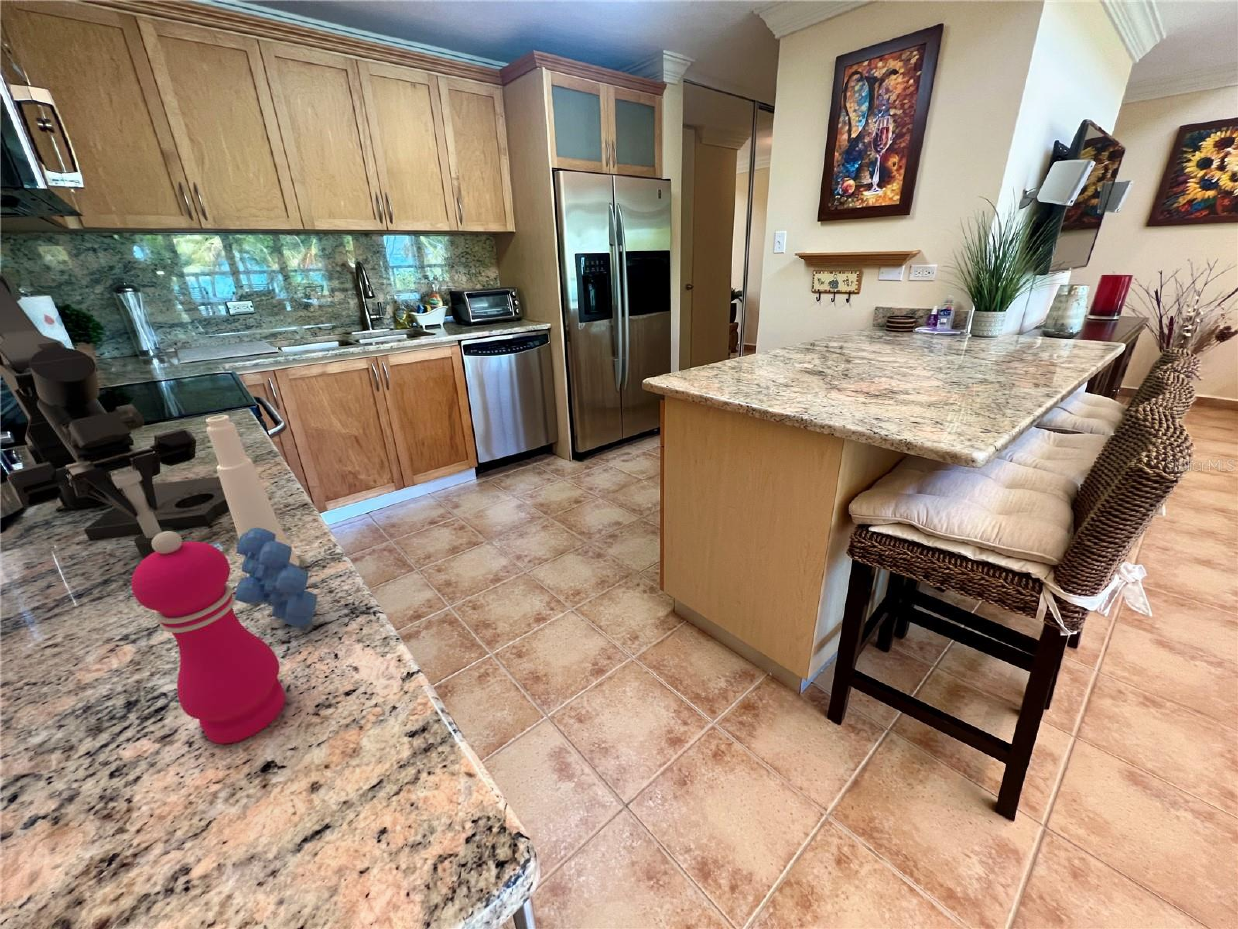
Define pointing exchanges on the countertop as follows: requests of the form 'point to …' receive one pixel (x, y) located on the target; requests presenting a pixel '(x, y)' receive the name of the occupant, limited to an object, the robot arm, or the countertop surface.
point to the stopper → (140, 510)
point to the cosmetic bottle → (242, 483)
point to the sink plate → (168, 509)
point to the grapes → (274, 578)
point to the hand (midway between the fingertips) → (145, 512)
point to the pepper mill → (209, 639)
